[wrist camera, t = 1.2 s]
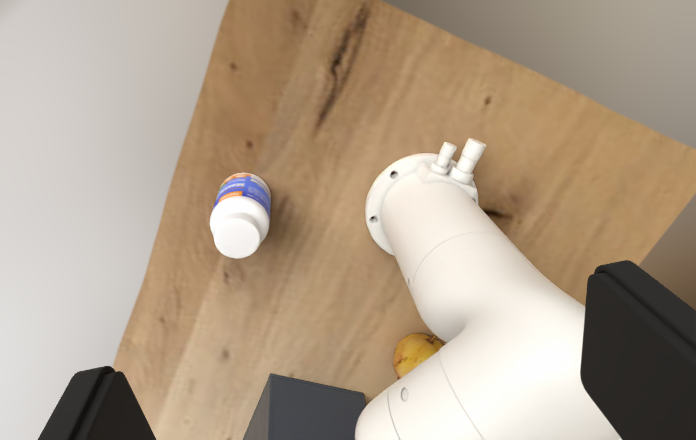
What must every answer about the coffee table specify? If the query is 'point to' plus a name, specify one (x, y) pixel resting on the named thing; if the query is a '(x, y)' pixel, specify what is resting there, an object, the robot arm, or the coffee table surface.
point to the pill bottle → (241, 215)
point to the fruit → (414, 352)
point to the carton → (304, 411)
